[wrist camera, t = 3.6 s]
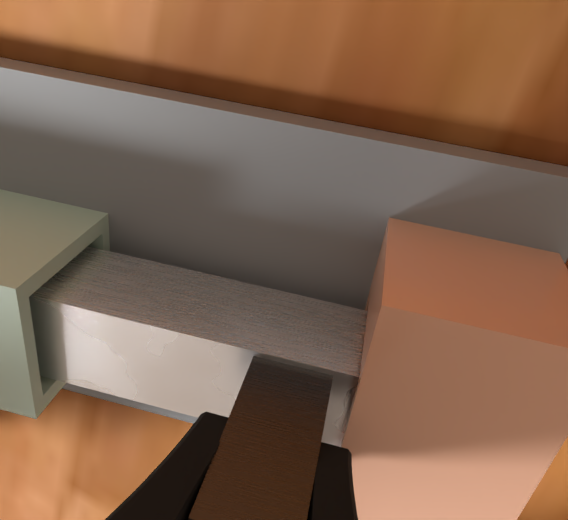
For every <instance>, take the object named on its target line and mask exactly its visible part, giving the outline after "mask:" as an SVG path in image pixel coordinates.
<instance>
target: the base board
mask: <svg viewBox="0 0 568 520" xmlns="http://www.w3.org/2000/svg"><path fill="white" fill-rule="evenodd" d="M0 189H2V190H6V191H11V192H15V193H19V194H24V195H28V196H33V197H37V198H42V199H46V200H51V201H55V202H60V203H64V204H69V205H73V206H78V207H82V208H86V209H91V210H95V211H100V212H104V213H108V219H109V242H110V251H112V252H116V253H121V254H125V255H129V256H133V257H138V258H142V259H146V260H151V261H155V262H159V263H164V264H168V265H172V266H177V267H181V268H185V269H189V270H194V271H198V272H202V273H207V274H211V275H215V276H220V277H224V278H228V279H232V280H237V281H241V282H245V283H250V284H254V285H258V286H263V287H267V288H271V289H276V290H280V291H284V292H288V293H293V294H297V295H301V296H306V297H310V298H314V299H319V300H323V301H327V302H331V303H336V304H340V305H344V306H349V307H353V308H357V309H362V310H365V306H366V302H367V298H368V295H369V291H370V287H371V283H372V279H373V276H374V272H375V268H376V264H377V261H378V257H379V253H380V249H381V245H382V242H383V238H384V234H385V230H386V227H387V223H388V219H389V218H394V219H399V220H404V221H408V222H413V223H418V224H423V225H427V226H432V227H437V228H442V229H446V230H451V231H456V232H461V233H465V234H470V235H475V236H480V237H484V238H489V239H494V240H498V241H503V242H508V243H513V244H517V245H522V246H527V247H532V248H536V249H541V250H546V251H551V252H555V253H559V254H560V255H561V257H562V259H563V261H564V263H566V261H567V259H568V166H563V165H558V164H552V163H547V162H542V161H537V160H532V159H527V158H521V157H516V156H511V155H506V154H501V153H495V152H490V151H485V150H480V149H475V148H469V147H464V146H459V145H454V144H449V143H444V142H438V141H433V140H428V139H423V138H418V137H412V136H407V135H402V134H397V133H392V132H386V131H381V130H376V129H371V128H366V127H360V126H355V125H350V124H345V123H340V122H335V121H329V120H324V119H319V118H314V117H309V116H303V115H298V114H293V113H288V112H283V111H277V110H272V109H267V108H262V107H257V106H252V105H246V104H241V103H236V102H231V101H226V100H220V99H215V98H210V97H205V96H200V95H194V94H189V93H184V92H179V91H174V90H168V89H163V88H158V87H153V86H148V85H143V84H137V83H132V82H127V81H122V80H117V79H111V78H106V77H101V76H96V75H91V74H85V73H80V72H75V71H70V70H65V69H60V68H54V67H49V66H44V65H39V64H34V63H28V62H23V61H18V60H13V59H8V58H2V57H0ZM62 389H66V390H70V391H73V392H77V393H81V394H85V395H88V396H92V397H96V398H100V399H103V400H107V401H111V402H115V403H118V404H122V405H126V406H130V407H133V408H137V409H141V410H145V411H148V412H152V413H156V414H160V415H163V416H167V417H171V418H175V419H178V420H182V421H186V422H190V423H193V424H194V423H195V422H196V420H197V419H198V418H197V417H193V416H190V415H186V414H182V413H178V412H175V411H171V410H167V409H163V408H159V407H156V406H152V405H148V404H144V403H141V402H137V401H133V400H129V399H125V398H122V397H118V396H114V395H110V394H107V393H103V392H99V391H95V390H92V389H88V388H84V387H80V386H76V385H73V384H69V383H66V384H65V385H64V386H63V387H62Z"/></svg>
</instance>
